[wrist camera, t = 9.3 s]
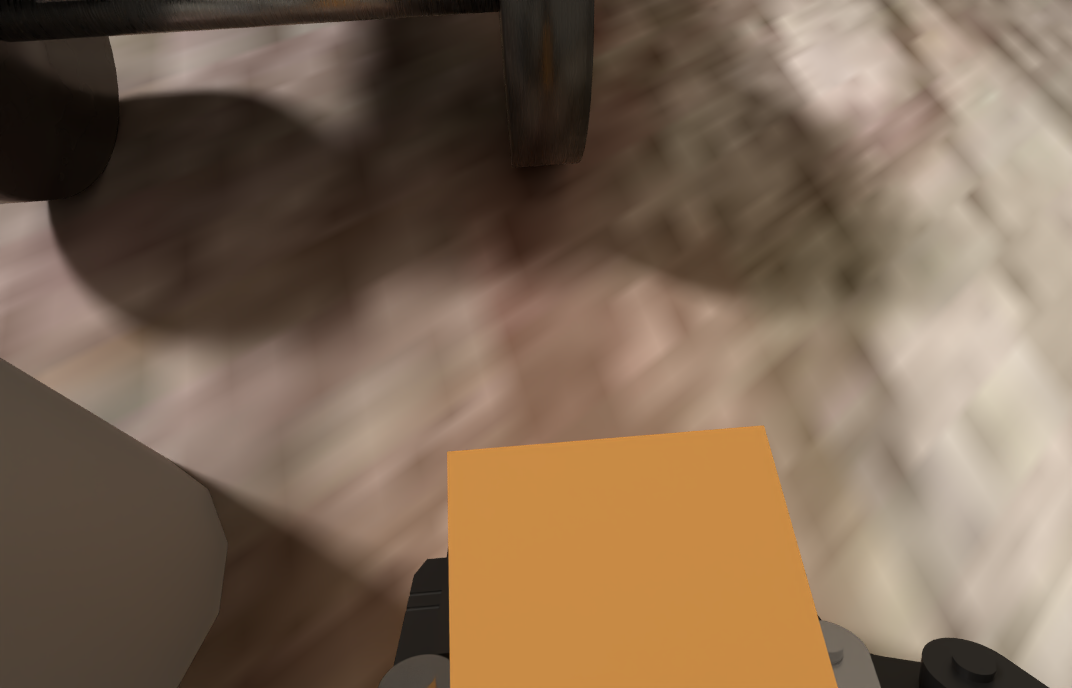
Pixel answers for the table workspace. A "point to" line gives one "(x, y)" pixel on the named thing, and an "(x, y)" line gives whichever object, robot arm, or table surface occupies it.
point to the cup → (97, 550)
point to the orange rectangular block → (628, 567)
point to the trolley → (223, 3)
